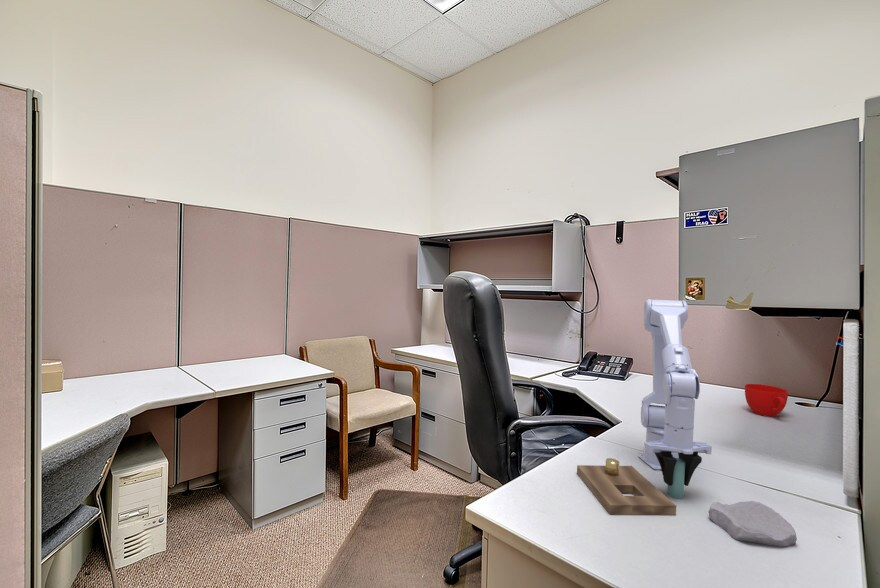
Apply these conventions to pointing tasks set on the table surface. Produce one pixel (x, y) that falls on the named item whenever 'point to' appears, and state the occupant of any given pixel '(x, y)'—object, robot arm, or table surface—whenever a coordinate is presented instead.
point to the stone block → (753, 523)
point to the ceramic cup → (766, 399)
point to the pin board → (624, 490)
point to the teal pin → (677, 480)
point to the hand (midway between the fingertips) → (675, 483)
